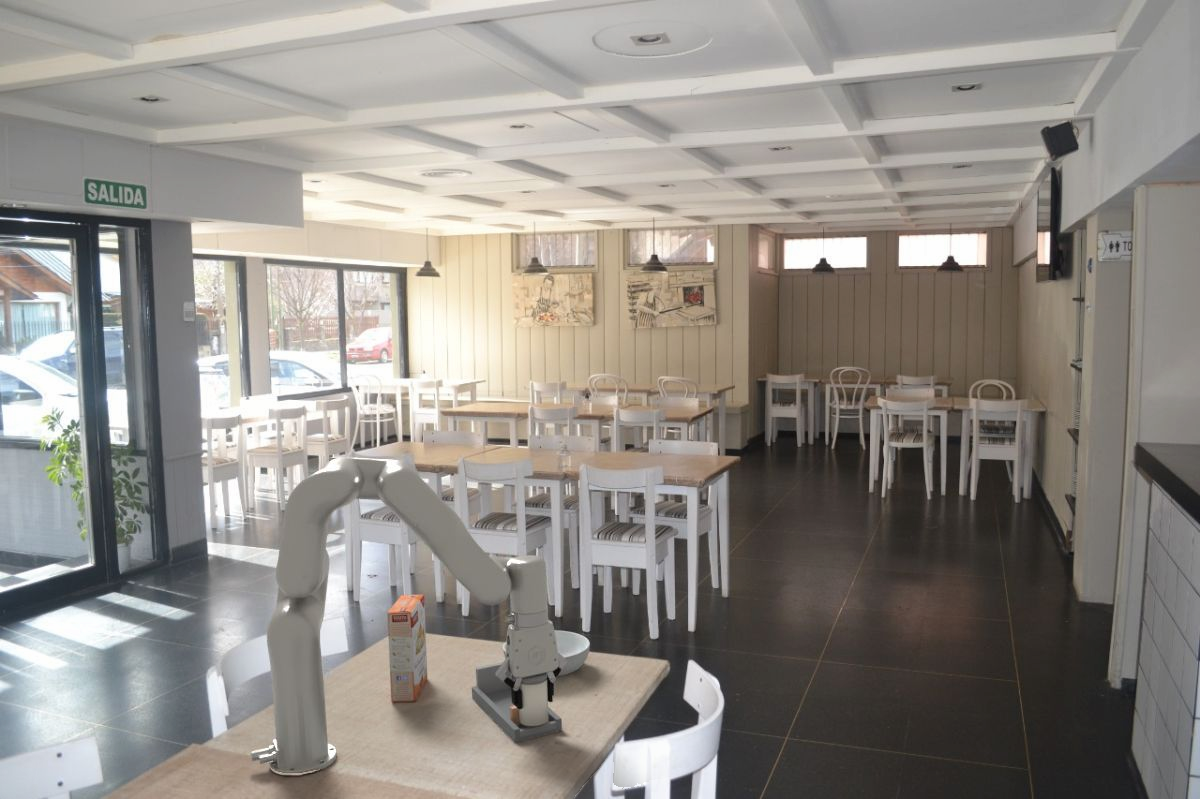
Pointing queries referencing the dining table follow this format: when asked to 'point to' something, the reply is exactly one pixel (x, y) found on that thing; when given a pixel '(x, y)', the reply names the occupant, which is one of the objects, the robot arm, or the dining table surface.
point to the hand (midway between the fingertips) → (533, 702)
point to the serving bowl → (569, 650)
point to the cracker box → (407, 648)
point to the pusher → (514, 714)
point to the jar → (534, 700)
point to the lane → (507, 705)
